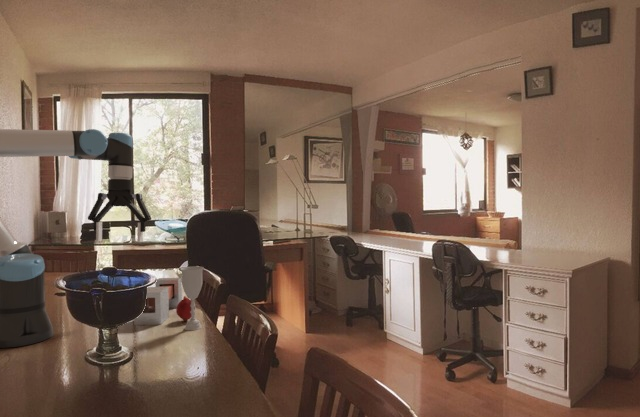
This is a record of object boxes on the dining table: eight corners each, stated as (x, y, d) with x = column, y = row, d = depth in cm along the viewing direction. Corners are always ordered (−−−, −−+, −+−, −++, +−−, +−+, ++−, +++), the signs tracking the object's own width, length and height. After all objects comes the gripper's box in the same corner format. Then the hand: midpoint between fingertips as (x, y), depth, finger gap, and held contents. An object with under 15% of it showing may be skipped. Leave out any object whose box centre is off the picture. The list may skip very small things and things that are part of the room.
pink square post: (161, 306, 142) (160, 293, 142) (148, 306, 142) (148, 294, 142) (175, 294, 160) (175, 283, 160) (164, 294, 160) (164, 283, 160)
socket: (178, 307, 157) (178, 279, 156) (155, 308, 156) (155, 280, 156) (181, 304, 161) (181, 277, 161) (159, 305, 160) (159, 278, 160)
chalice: (197, 331, 127) (196, 270, 126) (176, 330, 128) (175, 269, 128) (209, 324, 134) (208, 266, 133) (188, 323, 135) (187, 266, 135)
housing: (160, 324, 135) (160, 292, 135) (134, 325, 135) (133, 293, 134) (168, 316, 144) (168, 286, 144) (144, 317, 144) (143, 287, 143)
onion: (198, 318, 141) (197, 294, 141) (191, 323, 135) (190, 298, 135) (181, 318, 142) (180, 294, 142) (173, 323, 136) (172, 297, 136)
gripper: (161, 180, 152) (160, 240, 152) (88, 179, 151) (87, 240, 151) (154, 178, 145) (153, 242, 145) (77, 177, 144) (76, 241, 144)
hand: (119, 241), depth 148 cm, fingers open, 13 cm apart
